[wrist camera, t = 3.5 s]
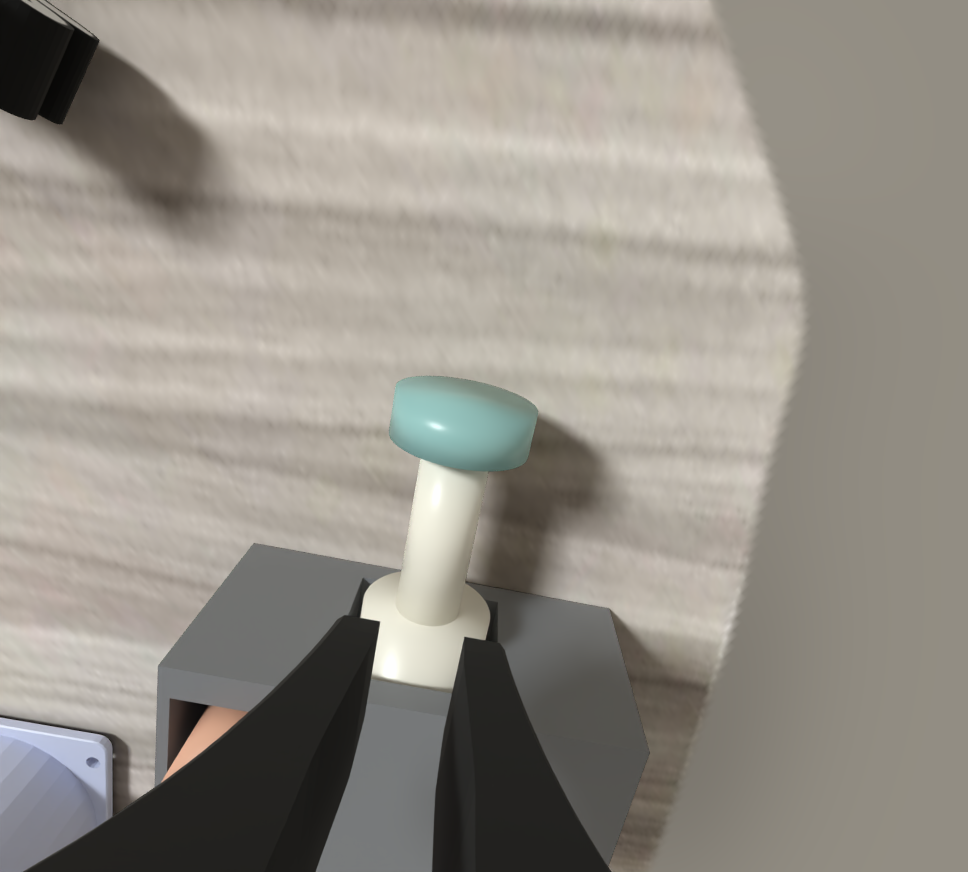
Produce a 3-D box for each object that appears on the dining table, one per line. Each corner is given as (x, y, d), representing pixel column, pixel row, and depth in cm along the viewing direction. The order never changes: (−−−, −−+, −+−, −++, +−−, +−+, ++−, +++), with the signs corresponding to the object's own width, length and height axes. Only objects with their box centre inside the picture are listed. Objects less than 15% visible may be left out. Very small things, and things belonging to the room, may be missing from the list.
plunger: (298, 742, 18) (257, 847, 15) (215, 728, 18) (157, 831, 15) (306, 675, 17) (265, 772, 14) (220, 659, 17) (159, 754, 14)
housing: (555, 786, 23) (572, 966, 18) (238, 731, 23) (151, 897, 17) (609, 608, 21) (649, 752, 15) (253, 543, 20) (158, 666, 15)
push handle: (447, 776, 22) (436, 878, 18) (345, 758, 22) (316, 858, 18) (534, 392, 17) (542, 434, 14) (407, 367, 17) (383, 402, 14)
